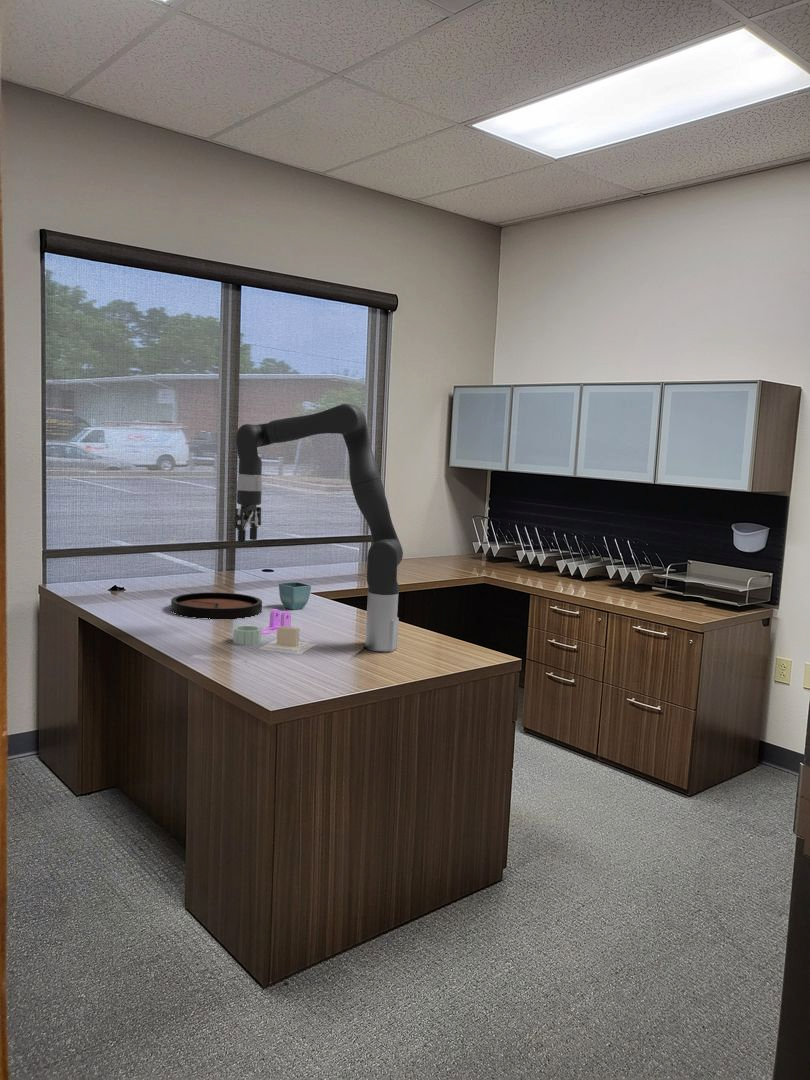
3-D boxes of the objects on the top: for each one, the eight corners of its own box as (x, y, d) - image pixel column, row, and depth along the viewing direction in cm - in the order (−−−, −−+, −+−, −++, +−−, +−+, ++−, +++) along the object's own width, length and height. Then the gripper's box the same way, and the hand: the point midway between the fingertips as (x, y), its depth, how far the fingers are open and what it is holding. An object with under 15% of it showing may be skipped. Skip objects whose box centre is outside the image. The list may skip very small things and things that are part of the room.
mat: (316, 647, 254) (316, 644, 254) (300, 657, 241) (300, 653, 241) (275, 642, 257) (275, 639, 257) (257, 652, 244) (257, 648, 244)
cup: (264, 643, 255) (265, 627, 254) (253, 649, 247) (254, 632, 247) (240, 640, 257) (240, 624, 256) (228, 646, 249) (228, 629, 249)
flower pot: (310, 609, 312) (312, 585, 311) (292, 611, 306) (293, 587, 305) (295, 605, 318) (296, 581, 317) (277, 607, 312) (278, 583, 311)
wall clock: (280, 603, 301) (204, 612, 278) (279, 614, 301) (204, 624, 278) (227, 589, 322) (153, 596, 299) (227, 600, 322) (153, 608, 299)
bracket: (276, 629, 276) (277, 608, 276) (290, 631, 274) (291, 610, 273) (251, 635, 265) (252, 613, 264) (265, 638, 262) (266, 616, 262)
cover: (309, 644, 252) (310, 626, 252) (297, 652, 243) (298, 633, 242) (278, 641, 255) (279, 622, 254) (264, 648, 245) (265, 629, 245)
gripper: (250, 490, 256) (248, 544, 257) (269, 489, 269) (267, 539, 271) (228, 489, 257) (226, 542, 259) (248, 487, 271) (246, 538, 273)
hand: (247, 540), depth 265 cm, fingers open, 8 cm apart
